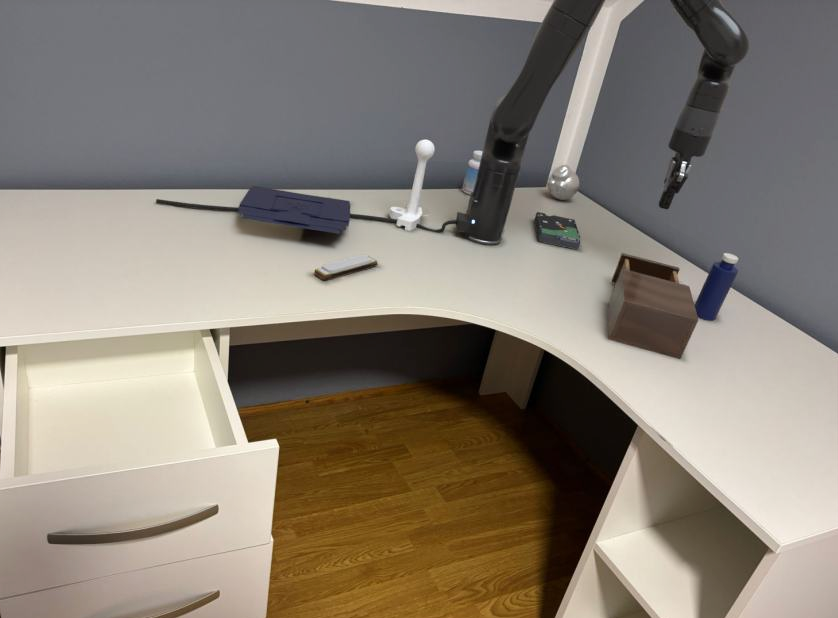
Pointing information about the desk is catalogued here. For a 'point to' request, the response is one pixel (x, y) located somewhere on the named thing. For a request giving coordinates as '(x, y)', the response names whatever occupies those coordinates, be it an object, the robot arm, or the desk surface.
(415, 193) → the joystick
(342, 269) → the harmonica
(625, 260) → the drawer
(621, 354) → the desk surface
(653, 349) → the cabinet
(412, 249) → the desk surface
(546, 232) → the disk drive
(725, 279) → the bottle
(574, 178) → the silver rounded lump
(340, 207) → the laptop stand
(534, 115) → the robot arm
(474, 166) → the pill bottle
